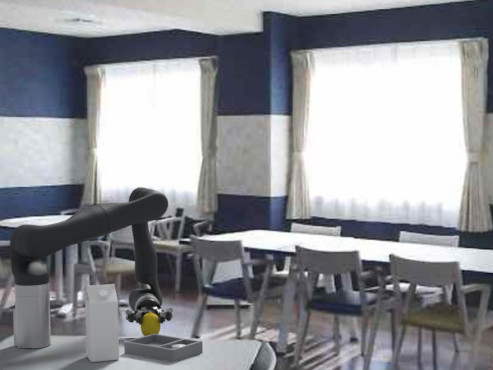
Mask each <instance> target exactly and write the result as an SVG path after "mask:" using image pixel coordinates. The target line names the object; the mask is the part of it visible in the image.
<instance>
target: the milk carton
mask: <svg viewBox="0 0 493 370" xmlns="http://www.w3.org/2000/svg"><path fill="white" fill-rule="evenodd" d="M86 289H87V290H86V294H85V298H84V302H85V303H84V304H85V307H84V309H85V310H84V311H85V312H84V313H85V346H86V347H85V350H86V351H85V354H86V357H87V359H88V360H89V361H90V363H97V362H109V361H116V360H120V351H119V350H120V346H119V345H120V343H119V342H120V341H119V337H120V336H119V301H118V296H117V291H116V283H110V284H109V283H108V284H93V285H87V286H86Z"/></svg>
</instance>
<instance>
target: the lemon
mask: <svg viewBox="0 0 493 370" xmlns="http://www.w3.org/2000/svg"><path fill="white" fill-rule="evenodd" d="M140 330H141V334H142V335H143V337H144V336H147V335H151V334H159V333H160V332H161V324H160V320H159V318H158V316H157V315H156V314H154V313H152V312H149V313H147V314H145V315H144V316H143V318H142V320H141V325H140ZM159 335H160V334H159Z"/></svg>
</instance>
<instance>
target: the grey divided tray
mask: <svg viewBox="0 0 493 370" xmlns="http://www.w3.org/2000/svg"><path fill="white" fill-rule="evenodd" d="M123 344H124V346H123V347H124V354H127V355H128V354H129V355H134V356H137V357H139V356H140V357H145V358H150V359H155V360H161V361H166V362H171V363H176V362H177V361H181V360H184V359H187V358H190V357H193V356H196V355H200V354H203V348H204V347H203V341H202V340H196V339H190V338H183V337H179V336H172V335H171V336H170V335H165V334H151V335H147V336H144V335H143V336H141V337H138V338H132V339H130V340H127V341H124V343H123Z"/></svg>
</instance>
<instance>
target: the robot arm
mask: <svg viewBox="0 0 493 370" xmlns="http://www.w3.org/2000/svg"><path fill="white" fill-rule="evenodd" d="M168 208H169V200H168V197H167V196H166V195H165V193H162V192H161V191H158V190H156V189H151V188H147V187H142V186H140V187H135V188H134V189H133V190H132V191H131V193H130V195H129V196H128V201H124V202H106V203H99V204H94V205H92V206H88V207H86V208H82V209H79V210H78V211H76V212H75V213H73V214H72V215H71V216H69V217H68V218H67V219H64V220H63V221H59V222H56V223H51V224H45V225H44V224H43V225H38V224H21V225H18V226H17V227H15V228H14V229H13V231H12V233H11V235H10V241H9V254H10V269H11V273H12V276H13V279H14V306H15V308H14V310H13V313H12V314H13V315H12V316H13V317H12V318H13V319H12V320H13V345H14V346H16V347H17V348H18V347H19V349H25V348H32V349H40V348H45V347H48V346H50V345H51V343H52V341H51V303H50V302H51V299H50V295H51V294H50V274H49V271H48V270H47V269H46V268H45V267H44V266H43V263H42V259H45V258H47V257H49V256H51V255H53V254H56V253H58V252H59V251H61V250H63V249H66V248H68V247H70V246H75V245H77V244H81V243H84V242H89V241H91V240H95V239H97V238H101V237H104V236H106V235H109V234H111V233H114V232H118V231H121V230H123V229H125V228H128V227H131V233H132V239H133V247H134V280H135V281H136V282H137V283H138V284H139V283H140V284H144V285H147V286H149V287H150V288H134V289H133V290H131V291H130V293H129V295H128V304H129V307H130V309H131V310H129V309H126V310H125V320H127V321H128V322H129V323H131V324H132V323H134V322H135V323H136V324H138V325H140V326H141V320H142V318H143V316H144V315H145V314H147V313H149V312H152V313H154V314H156V315H157V316H158V318H159V320H160V325H161V324H162V325H163V324H164V323H165V322H166V321H167V322H170V321H172V319H173V317H174V315H173V314H174V312H173V311H174V310H173V308H172V307H170V308H167V309H166V310H164V309H163V308H162V307H163V295H162V292H161V289H160V285H159V282H158V281H159V280H158V255H157V250H156V247H155V244H154V241H153V239H152V236H151V233H150V228H149V222H151V221H156V220H159V219H160V218H162V217H164V215H165V214H166V212H167V211H168Z"/></svg>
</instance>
